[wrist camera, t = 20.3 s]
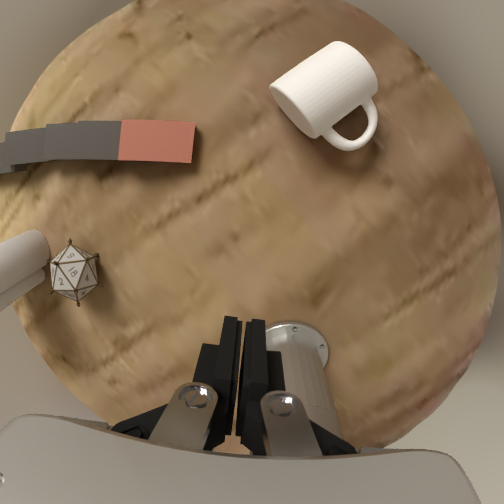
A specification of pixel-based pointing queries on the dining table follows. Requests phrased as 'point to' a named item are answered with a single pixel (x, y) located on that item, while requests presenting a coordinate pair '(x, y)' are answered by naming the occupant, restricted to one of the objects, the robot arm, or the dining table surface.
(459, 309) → the dining table surface
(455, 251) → the dining table surface
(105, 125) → the black tile
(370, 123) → the mug
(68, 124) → the dark gray domino tile
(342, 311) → the dining table surface
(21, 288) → the vase
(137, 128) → the red tile
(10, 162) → the black tile
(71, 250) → the game die
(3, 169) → the black tile
